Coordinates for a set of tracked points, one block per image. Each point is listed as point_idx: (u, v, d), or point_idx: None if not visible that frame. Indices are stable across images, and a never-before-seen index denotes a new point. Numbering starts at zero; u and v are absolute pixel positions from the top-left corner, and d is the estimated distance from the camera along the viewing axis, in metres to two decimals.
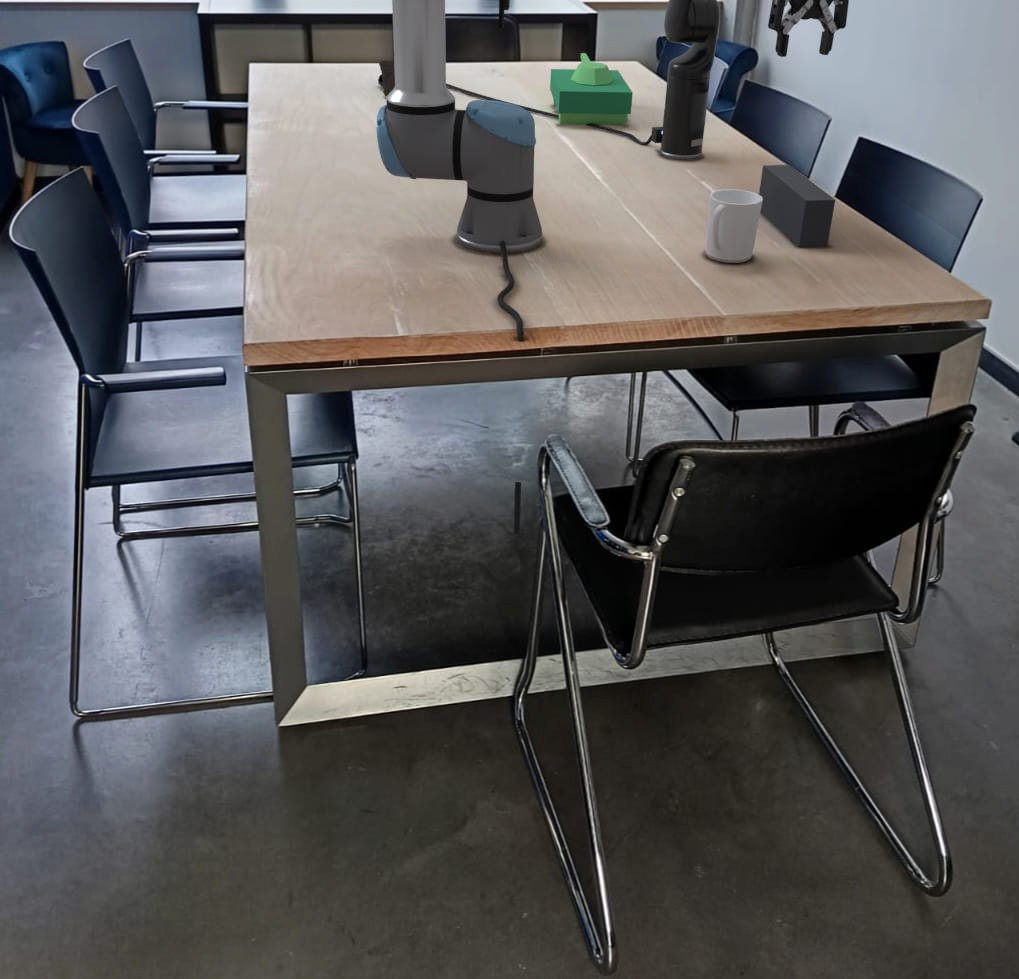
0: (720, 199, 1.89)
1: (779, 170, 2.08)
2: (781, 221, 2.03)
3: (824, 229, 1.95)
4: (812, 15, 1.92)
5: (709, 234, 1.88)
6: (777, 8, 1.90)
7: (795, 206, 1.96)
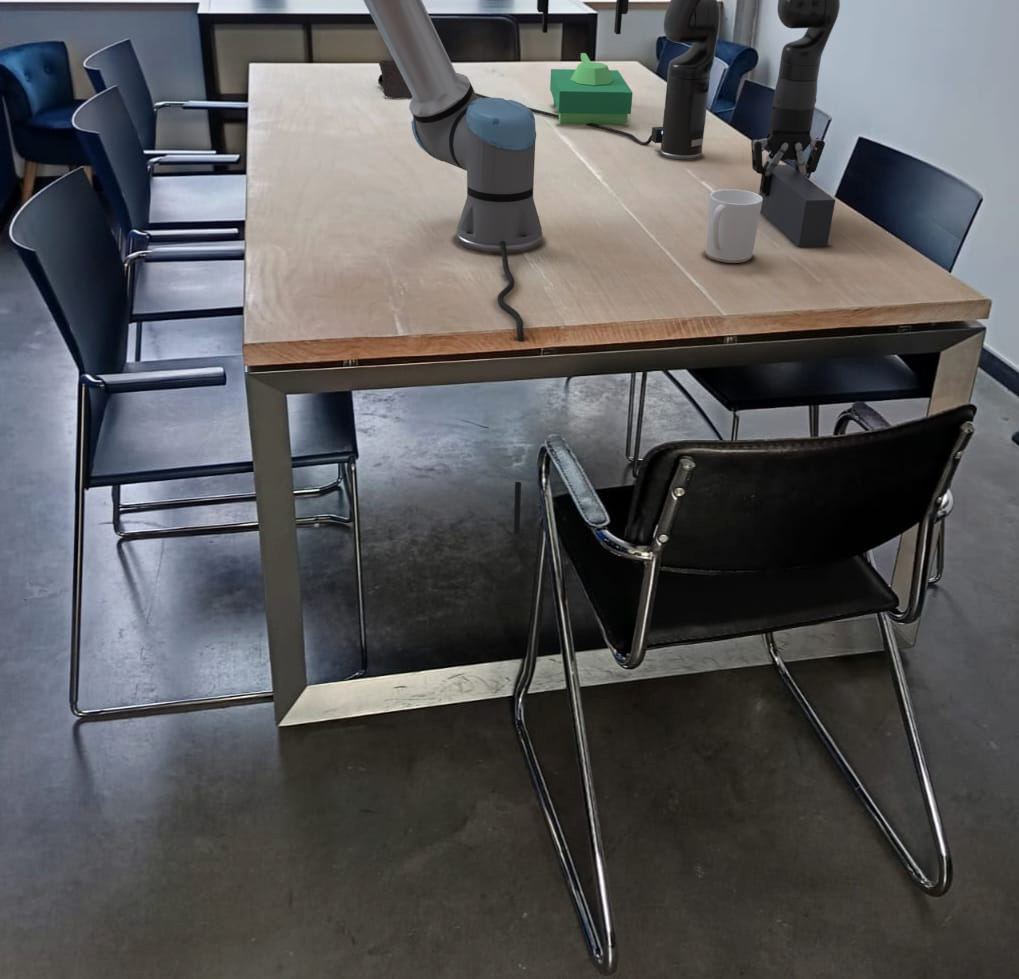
0: (720, 199, 1.89)
1: (779, 170, 2.08)
2: (781, 221, 2.03)
3: (824, 229, 1.95)
4: (788, 156, 2.05)
5: (709, 234, 1.88)
6: (755, 155, 2.04)
7: (795, 206, 1.96)
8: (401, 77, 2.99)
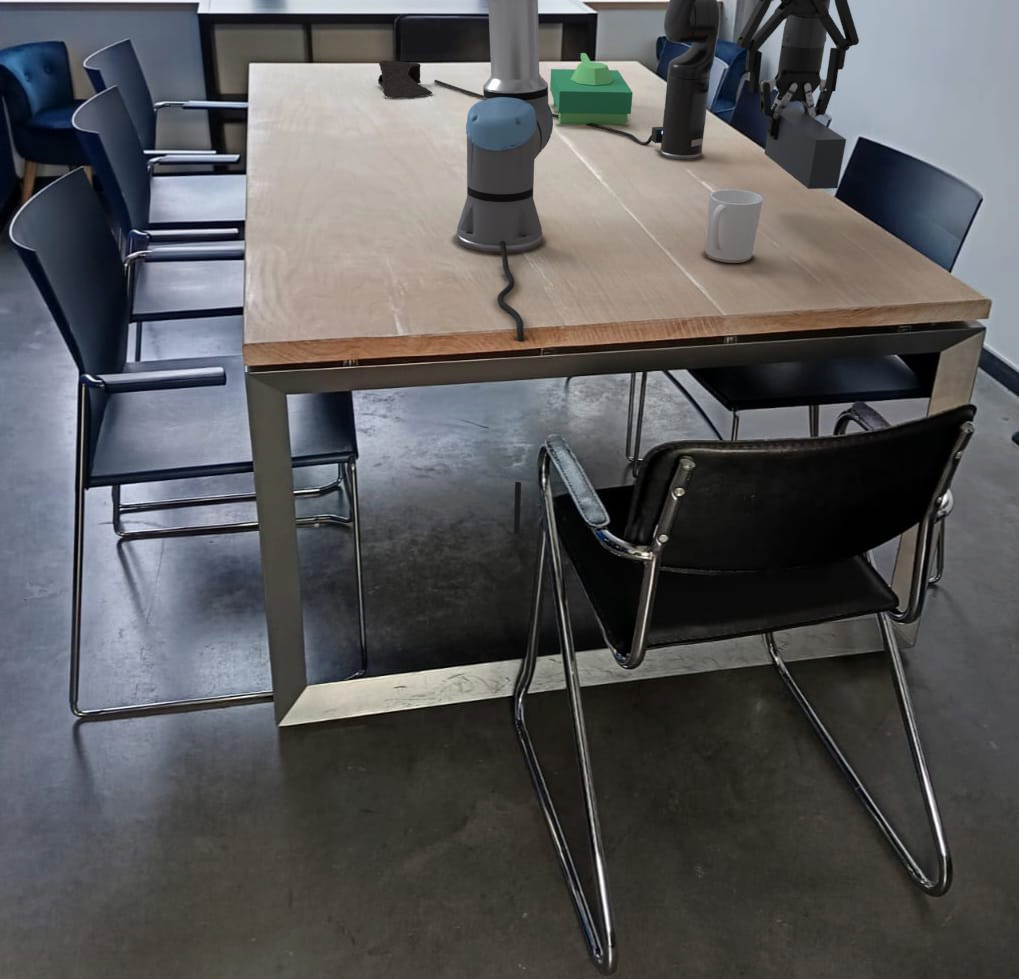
0: (720, 199, 1.89)
1: (788, 113, 2.03)
2: (789, 164, 1.98)
3: (835, 170, 1.90)
4: (797, 98, 2.00)
5: (709, 234, 1.88)
6: (763, 96, 1.99)
7: (805, 147, 1.91)
8: (401, 77, 2.99)
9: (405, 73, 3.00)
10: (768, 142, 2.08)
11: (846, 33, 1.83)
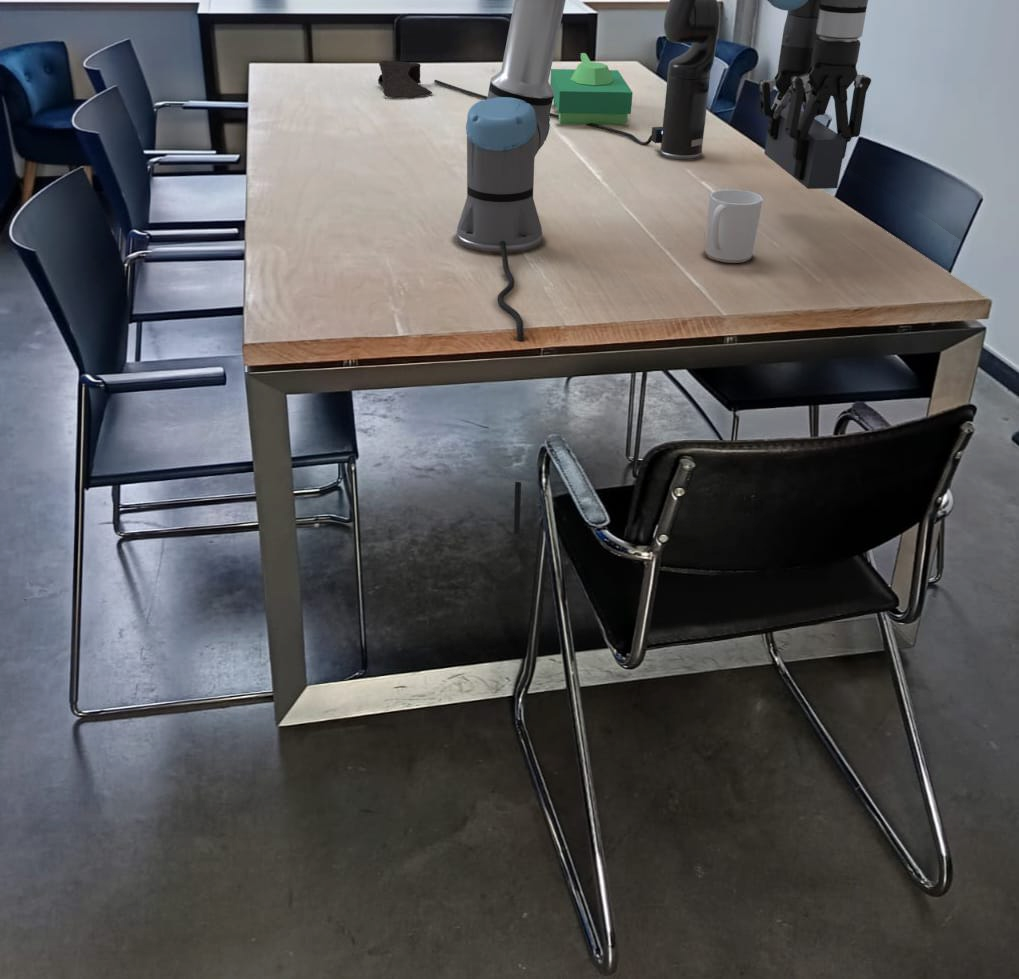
0: (720, 199, 1.89)
1: (787, 113, 2.03)
2: (789, 164, 1.98)
3: (834, 170, 1.90)
4: None
5: (709, 234, 1.88)
6: (763, 96, 1.99)
7: None
8: (401, 77, 2.99)
9: (405, 73, 3.00)
10: (768, 142, 2.08)
11: (851, 123, 1.91)
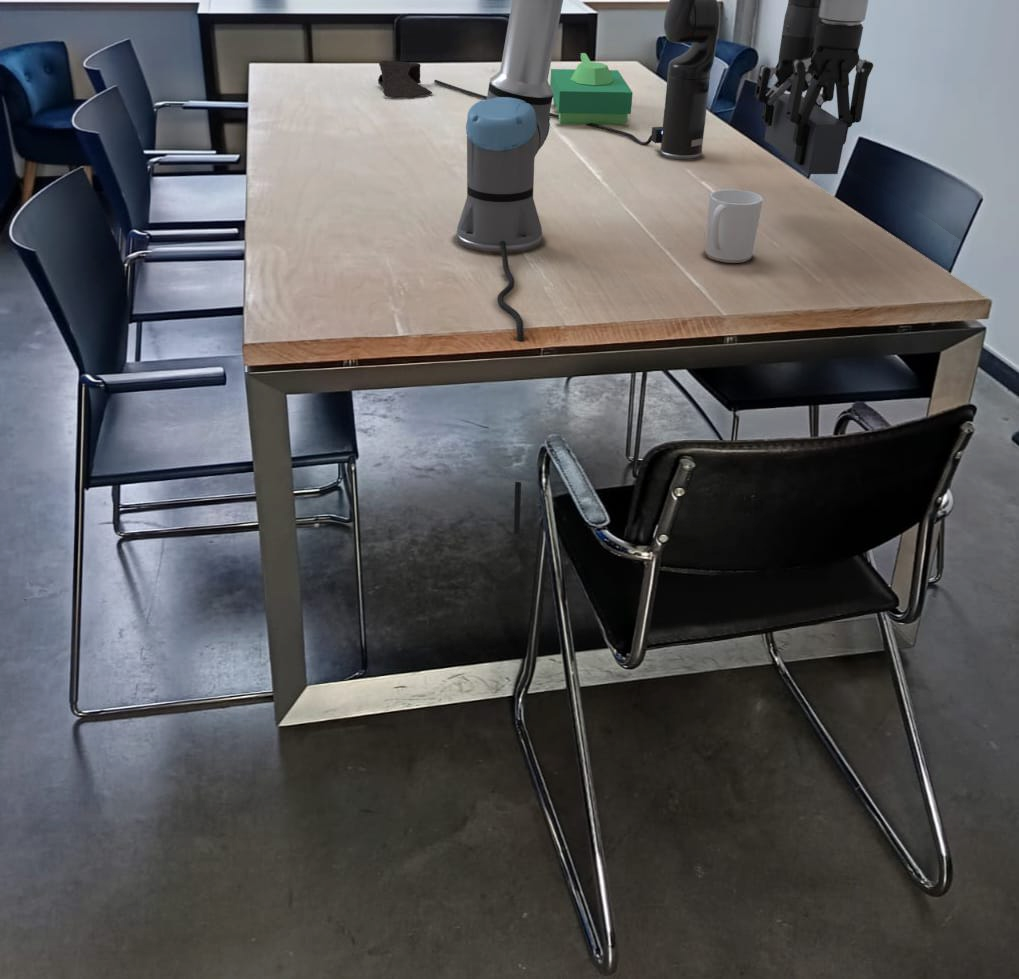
0: (720, 199, 1.89)
1: (788, 98, 2.01)
2: (789, 149, 1.97)
3: (835, 156, 1.88)
4: None
5: (709, 234, 1.88)
6: (761, 81, 1.98)
7: None
8: (401, 77, 2.99)
9: (405, 73, 3.00)
10: (768, 128, 2.06)
11: (852, 108, 1.89)
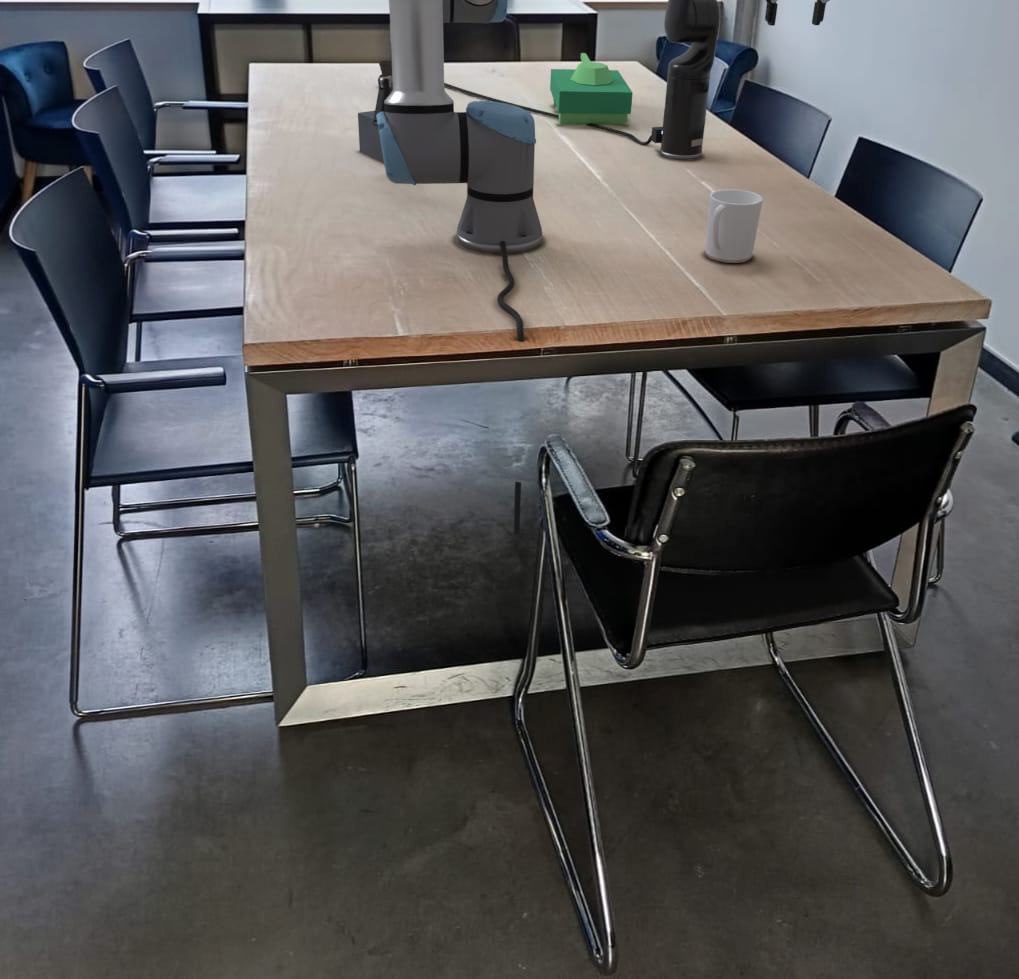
0: (720, 199, 1.89)
1: (373, 115, 2.40)
2: None
3: None
4: None
5: (709, 234, 1.88)
6: None
7: None
8: None
9: None
10: (361, 141, 2.44)
11: None
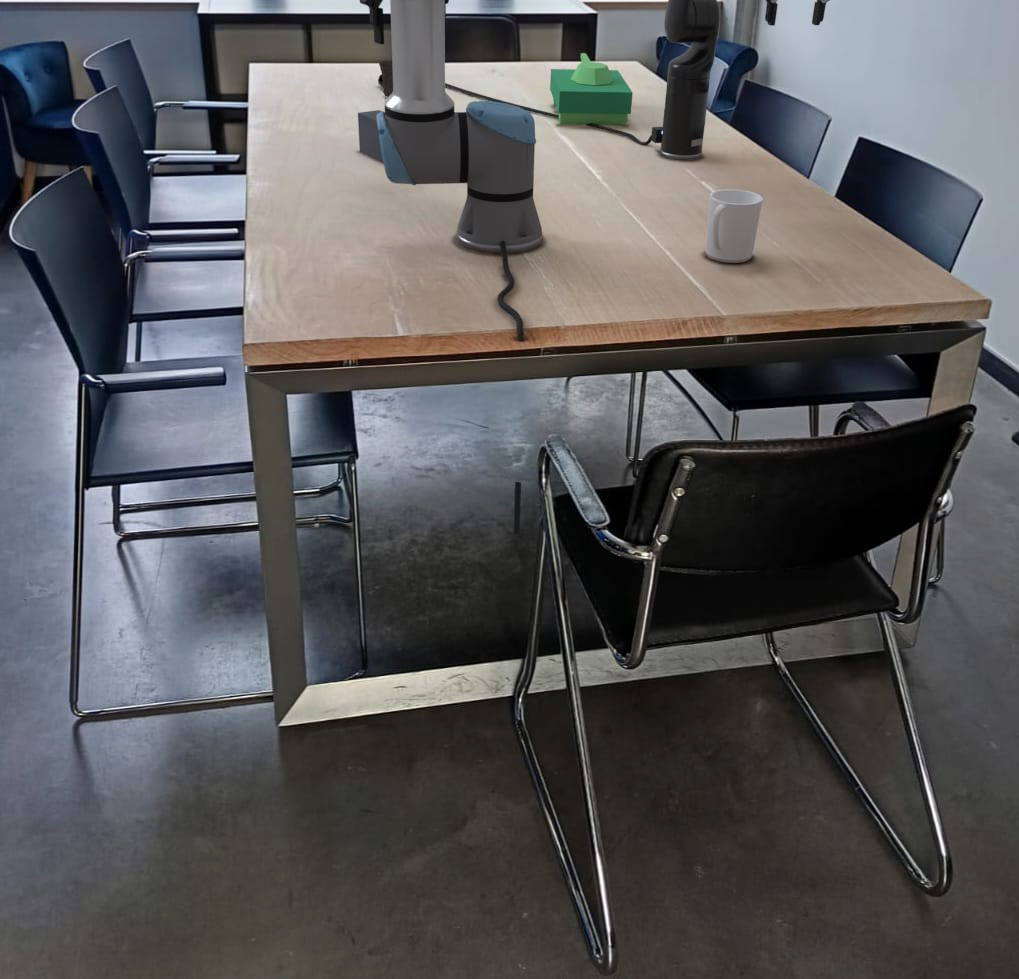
0: (720, 199, 1.89)
1: (373, 115, 2.40)
2: None
3: None
4: None
5: (709, 234, 1.88)
6: None
7: None
8: None
9: None
10: (361, 141, 2.44)
11: None
